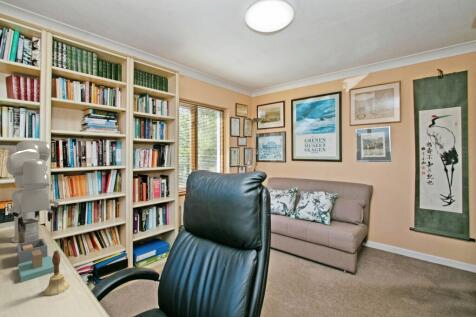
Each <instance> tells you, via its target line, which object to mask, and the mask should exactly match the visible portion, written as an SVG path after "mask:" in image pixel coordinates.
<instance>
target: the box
mask: <svg viewBox="0 0 476 317" xmlns="http://www.w3.org/2000/svg"><path fill="white" fill-rule="evenodd" d="M16 247H17V250H16V251H17V260H18V264H21V263H25V262H28V261H32V253H31V251H35V250H39V249H40V251H41V253H42V258H43V257H47V256H49V254H48V253H49V252H48V245H47V243H46V241H45V239H44V238H39V239H37V240H33V241H28V242H24V243H19V242H18V243H17V244H16Z"/></svg>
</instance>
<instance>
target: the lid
mask: <svg viewBox="0 0 476 317" xmlns="http://www.w3.org/2000/svg"><path fill="white" fill-rule="evenodd" d="M31 253H32V261H28V262H25V263H21V264H19V263H18V264H17V267H18V268H17V270H18V274H19V279H20V283H24V282H28V281H29V280H33V279H36V278H40V277H43V276H46V275H49V274H54V265H53V263H52V256H51V255H48V256H47V257H43V258H42V253H41V251H40V249H39V250H35V251H31Z"/></svg>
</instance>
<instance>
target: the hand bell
mask: <svg viewBox="0 0 476 317" xmlns="http://www.w3.org/2000/svg"><path fill="white" fill-rule="evenodd" d="M51 258H52V263H53V265H54V272H53V275H51V276H50V278H49V281H48V284H47V287H46V288H45V289H44V291H43V292H42V293H43V295H44V296H47V297H48V296H49V297H51V295H53V296H56V294H57V295H60V294H62V293H64V292H65V290H66V291H67V290H68V289H69V288H70V283H68V282H67V281H66V279H65V275H64V274H63V273H60V263H61V254H60V252H59V250H58V249H57V250H54V251H53V254H52V256H51ZM59 293H60V294H59Z"/></svg>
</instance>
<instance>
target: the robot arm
mask: <svg viewBox="0 0 476 317" xmlns="http://www.w3.org/2000/svg"><path fill="white" fill-rule="evenodd" d="M51 153H52V147H51V144H50V143H49V142H47V141H44V140H22V141H19V142H17V144H16V145H15V148H12V149H9V150H8V152H7V158H6V160H5V161H6V162H5V166H6V171H7V173H8V175H11V176H14V185H15V187H16V188H18V189H17V190H15V191H13V192H12V193H11V202H12V207H10V208H9V209H8V211H9V213H11V215H12V216H14V217H13V218H14V220H13V222H14V225H13V226H14V237H13V238H11V243H14V244H15V243H17V244H18V243H19V238H18V225H20V226H21V227H22V226H23V220H25V219H31V218H32V219H35V220H36V212H42V211H47V221H48V222H49V223H50V222H51V220H52V219H53V213H54V212H55V210H56V209H57V208H58V206H59V204H60V203H59V202H58V201H54V200H52V199H51V200H50V195H49V194H50V178H49V177H50V176H49V174H48V173H47V171H48V168H49V167H48V160H49V158H50V156H51ZM50 204H52V205H53V206H52V207H51V208H50V206H51V205H50Z"/></svg>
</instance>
